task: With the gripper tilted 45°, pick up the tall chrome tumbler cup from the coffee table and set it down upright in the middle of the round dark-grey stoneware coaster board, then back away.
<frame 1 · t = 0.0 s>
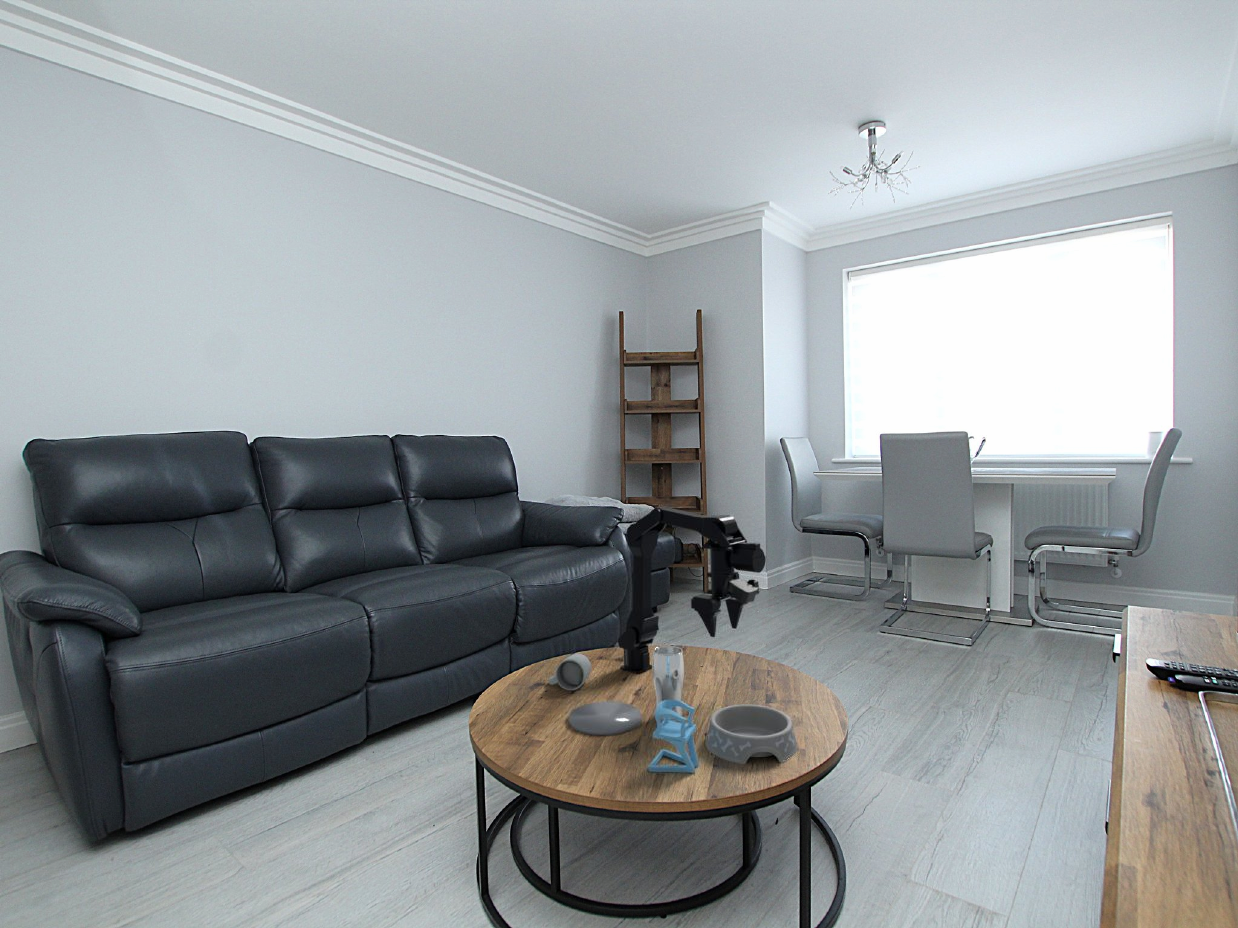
hand: (723, 632, 165), 15 cm above the table, tool pointing down, fingers open, 9 cm apart
chair: (675, 766, 129), on the table
dog bowl: (751, 746, 138), on the table
coaster board: (605, 719, 151), on the table
chrome tumbler cup: (669, 717, 152), on the table
ceramic mug: (569, 685, 174), on the table
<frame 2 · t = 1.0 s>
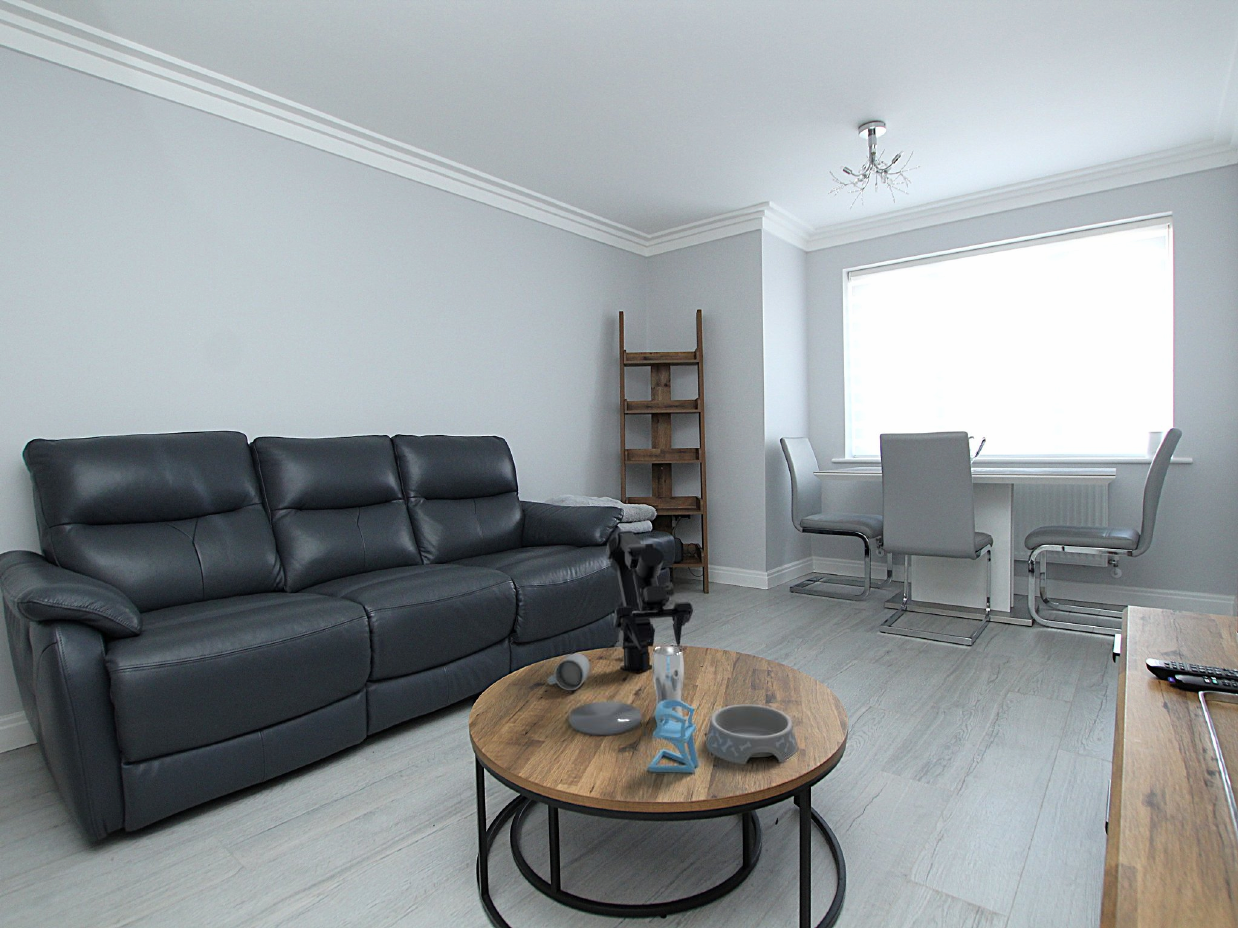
hand: (659, 646, 159), 13 cm above the table, tool tilted 45°, fingers open, 9 cm apart
nothing on the table moved.
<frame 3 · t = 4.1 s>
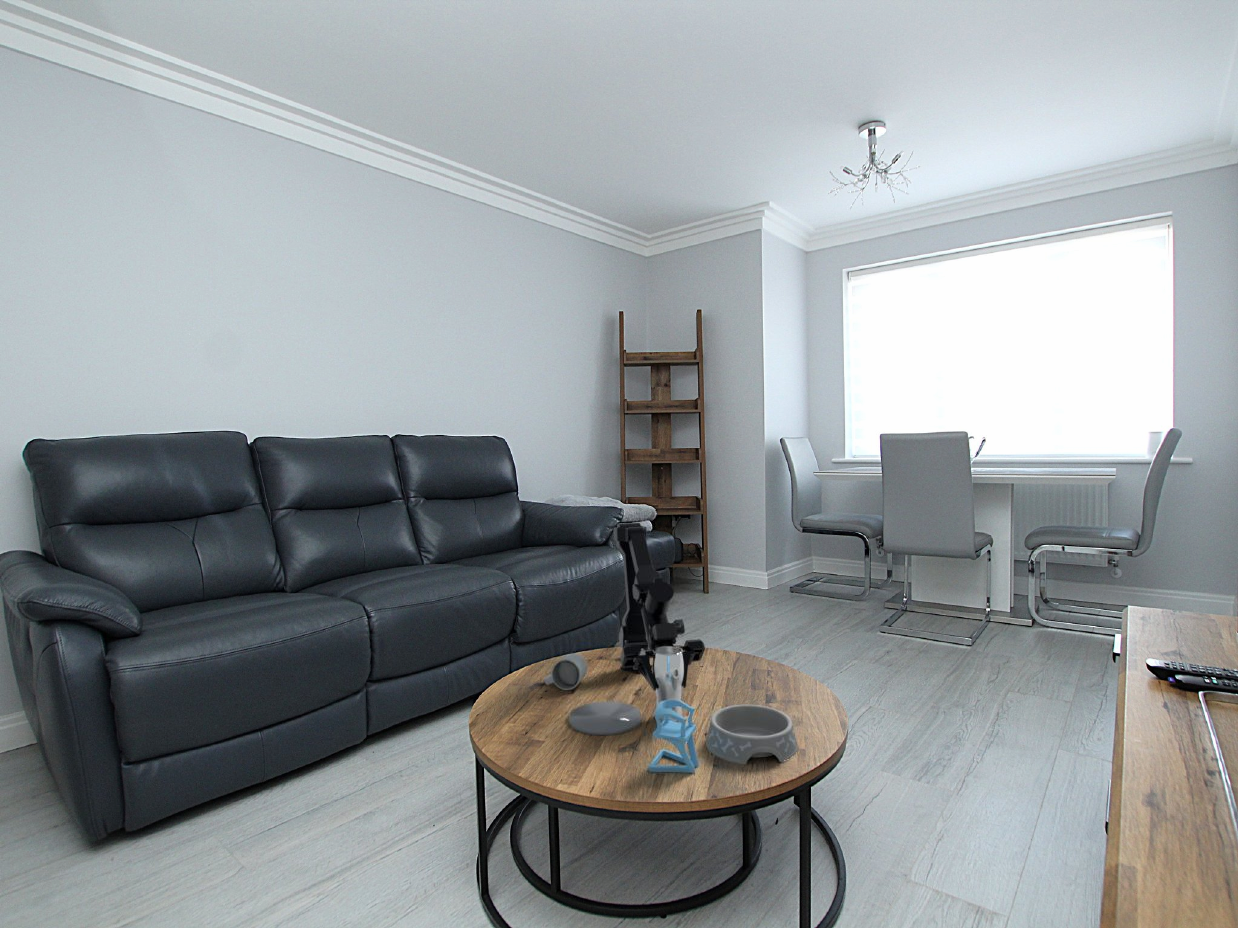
hand: (670, 688, 150), 7 cm above the table, tool tilted 45°, fingers closed on chrome tumbler cup, 6 cm apart
chrome tumbler cup: (669, 717, 152), on the table, touching gripper
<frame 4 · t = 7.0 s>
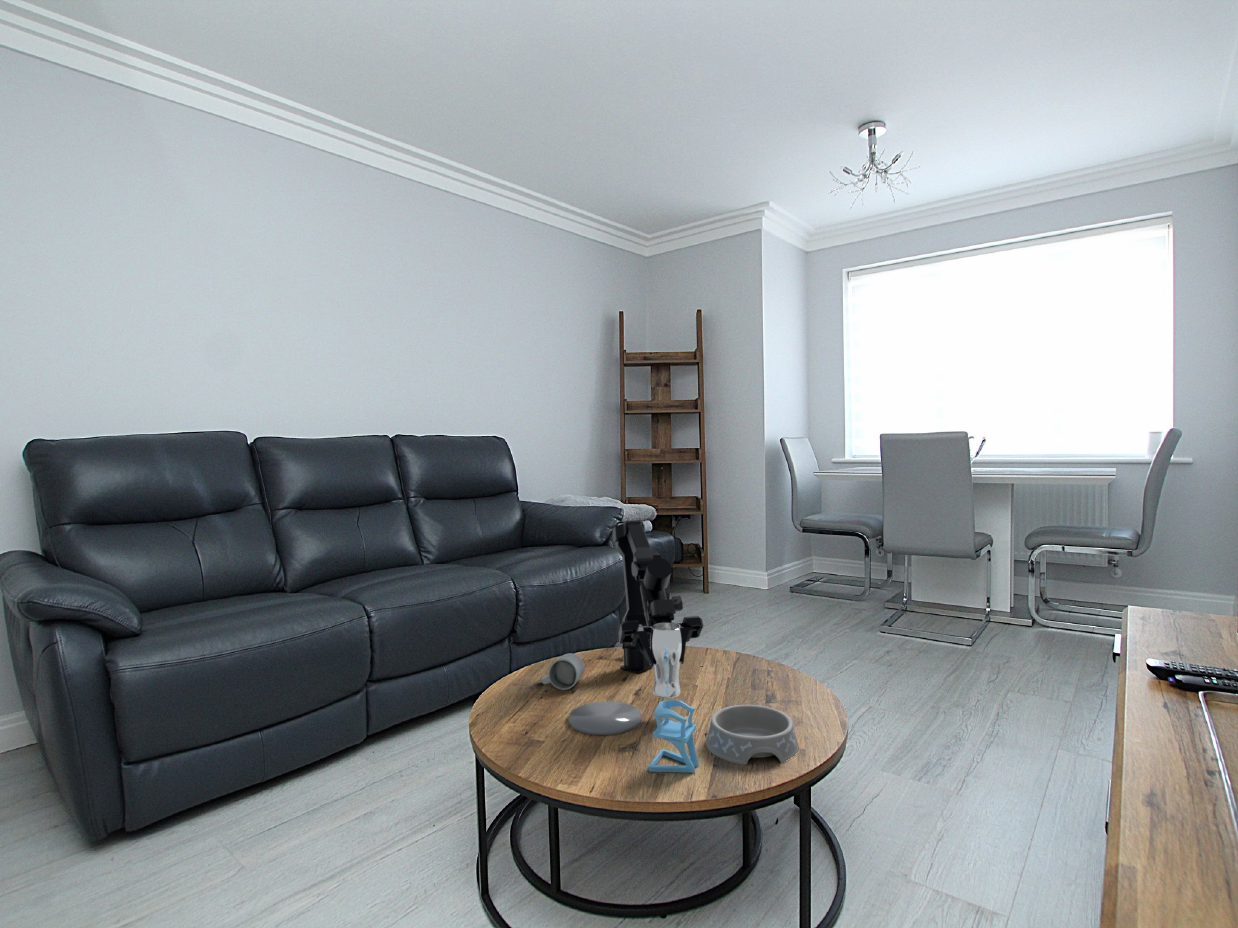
hand: (667, 664, 150), 12 cm above the table, tool tilted 45°, fingers closed on chrome tumbler cup, 6 cm apart
chrome tumbler cup: (666, 693, 152), point 5 cm above the table, touching gripper
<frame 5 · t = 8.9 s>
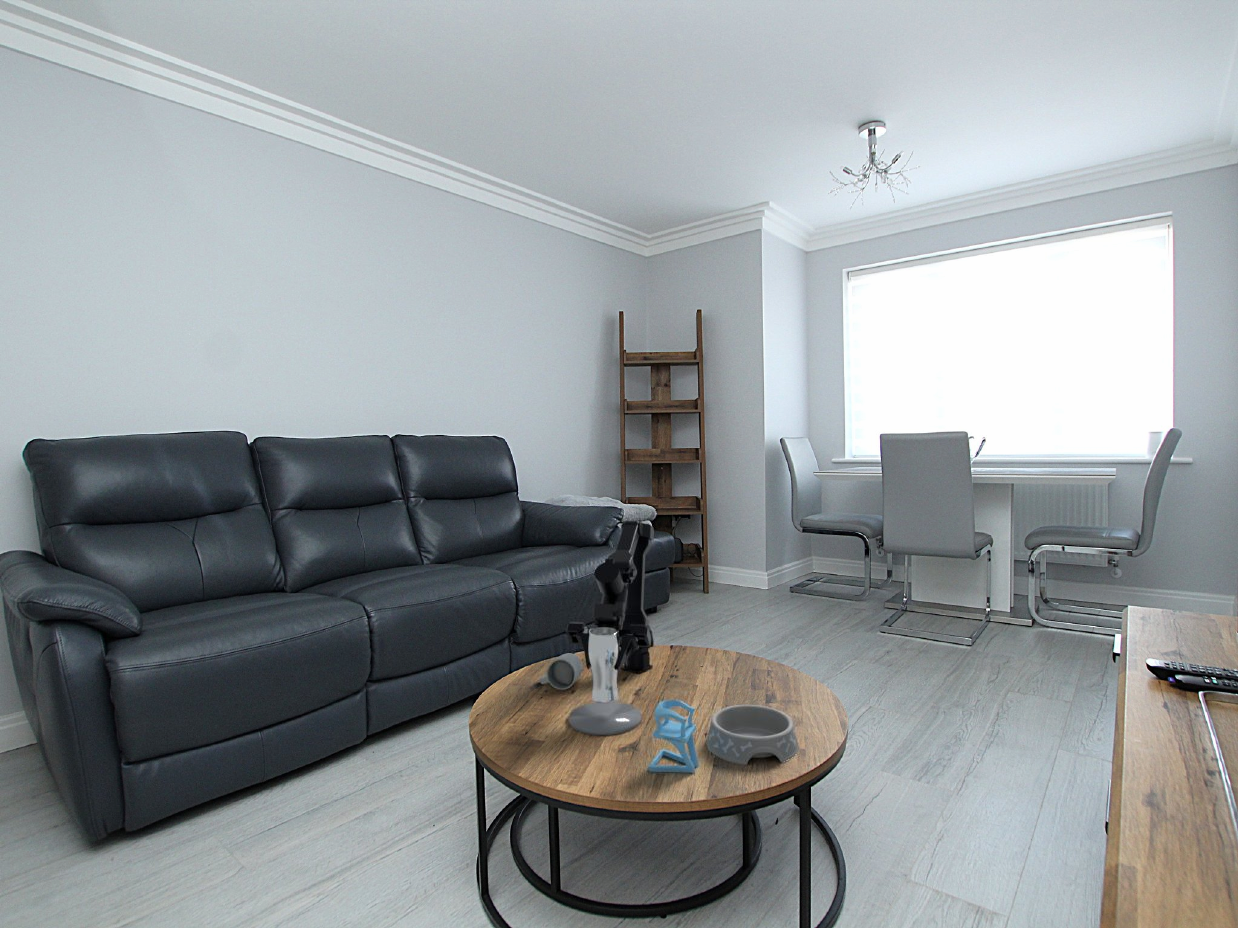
hand: (602, 669, 150), 12 cm above the table, tool tilted 45°, fingers closed on chrome tumbler cup, 6 cm apart
chrome tumbler cup: (605, 698, 151), point 5 cm above the table, touching gripper
when the fingers open (9 cm above the table, at t = 10.2 s): chrome tumbler cup stays where it is, resting on coaster board.
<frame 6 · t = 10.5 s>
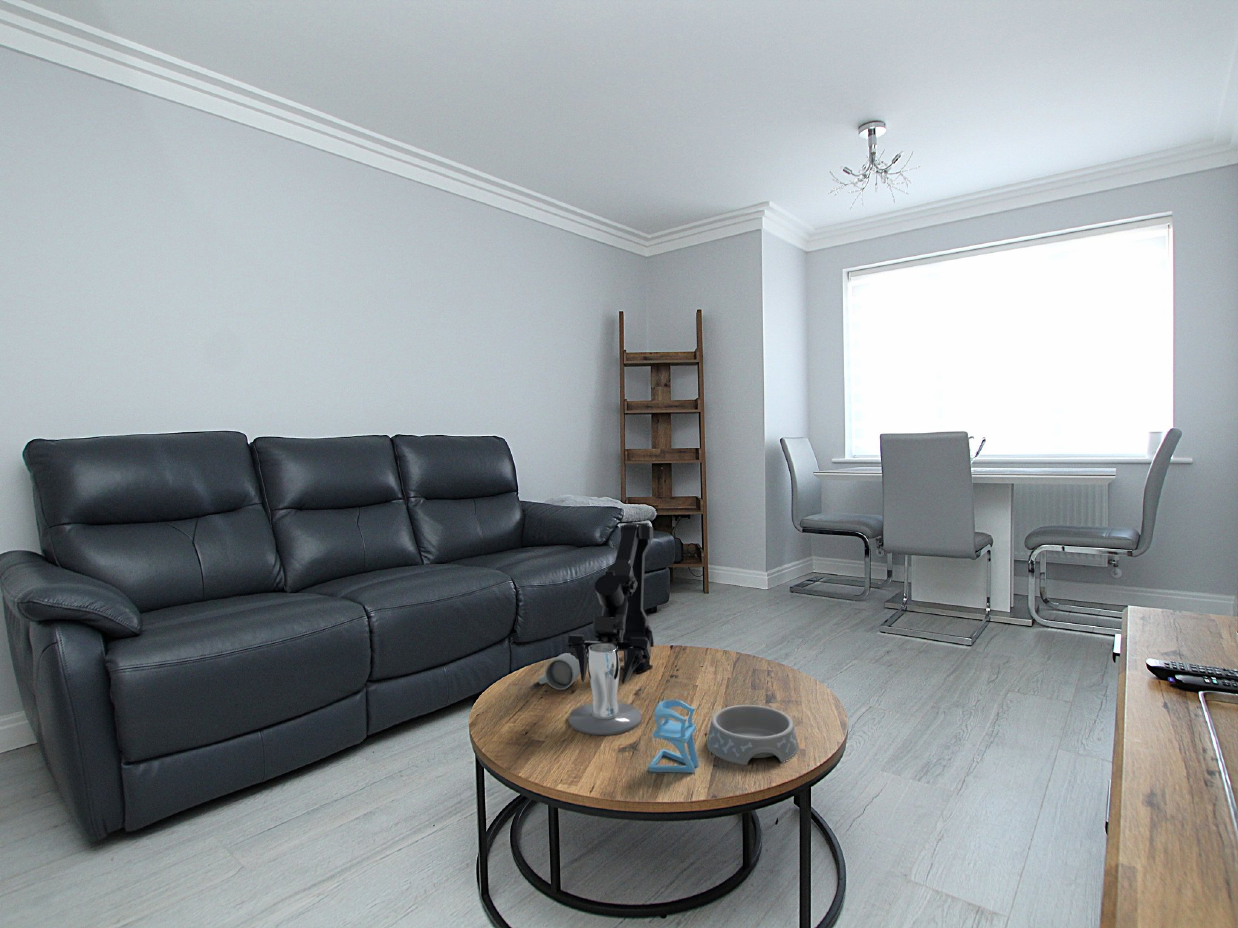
hand: (602, 682, 150), 9 cm above the table, tool tilted 45°, fingers open, 9 cm apart
chrome tumbler cup: (605, 714, 152), point 1 cm above the table, touching coaster board, gripper
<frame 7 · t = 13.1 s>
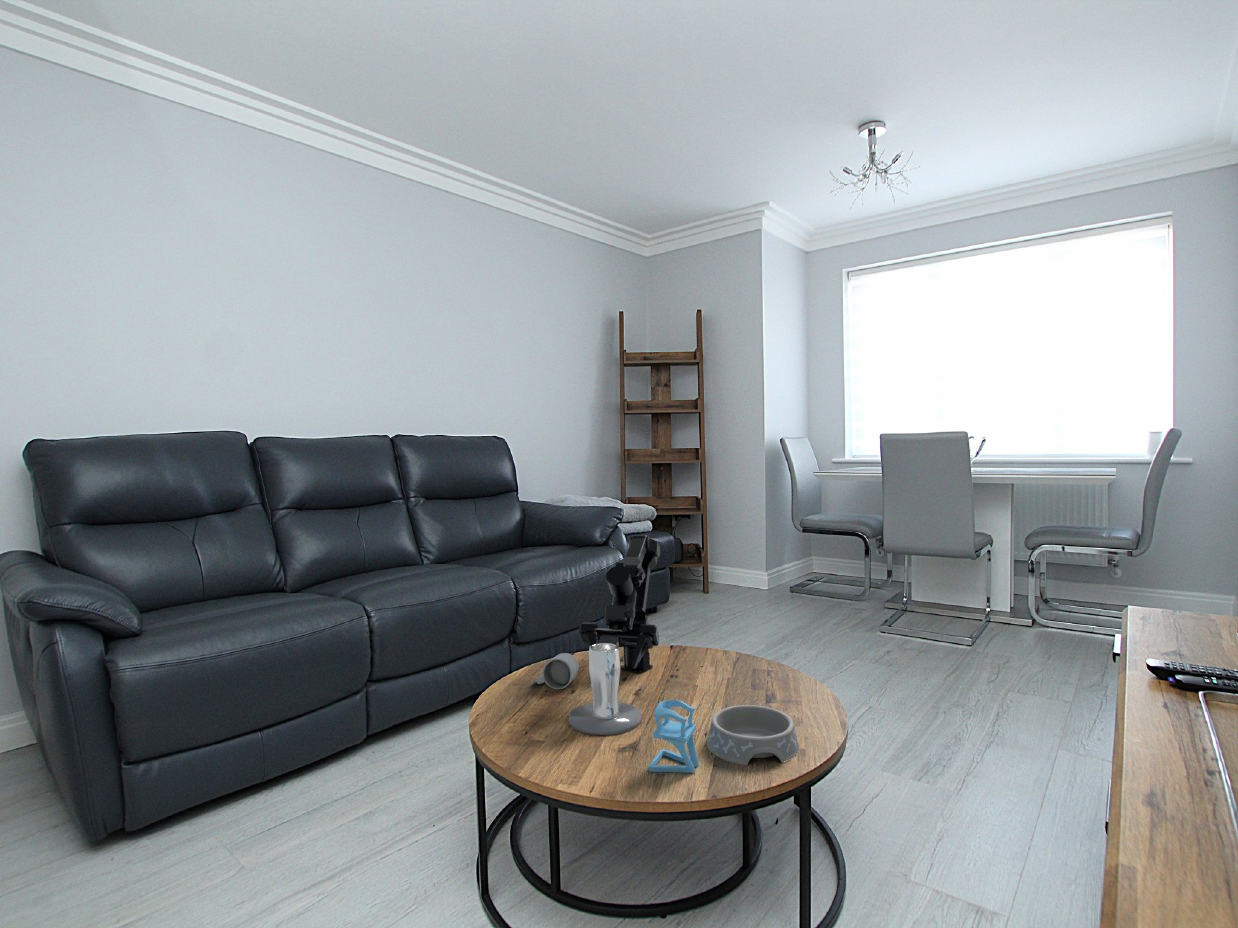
hand: (614, 666, 159), 9 cm above the table, tool tilted 45°, fingers open, 9 cm apart
chrome tumbler cup: (605, 715, 152), point 1 cm above the table, touching coaster board
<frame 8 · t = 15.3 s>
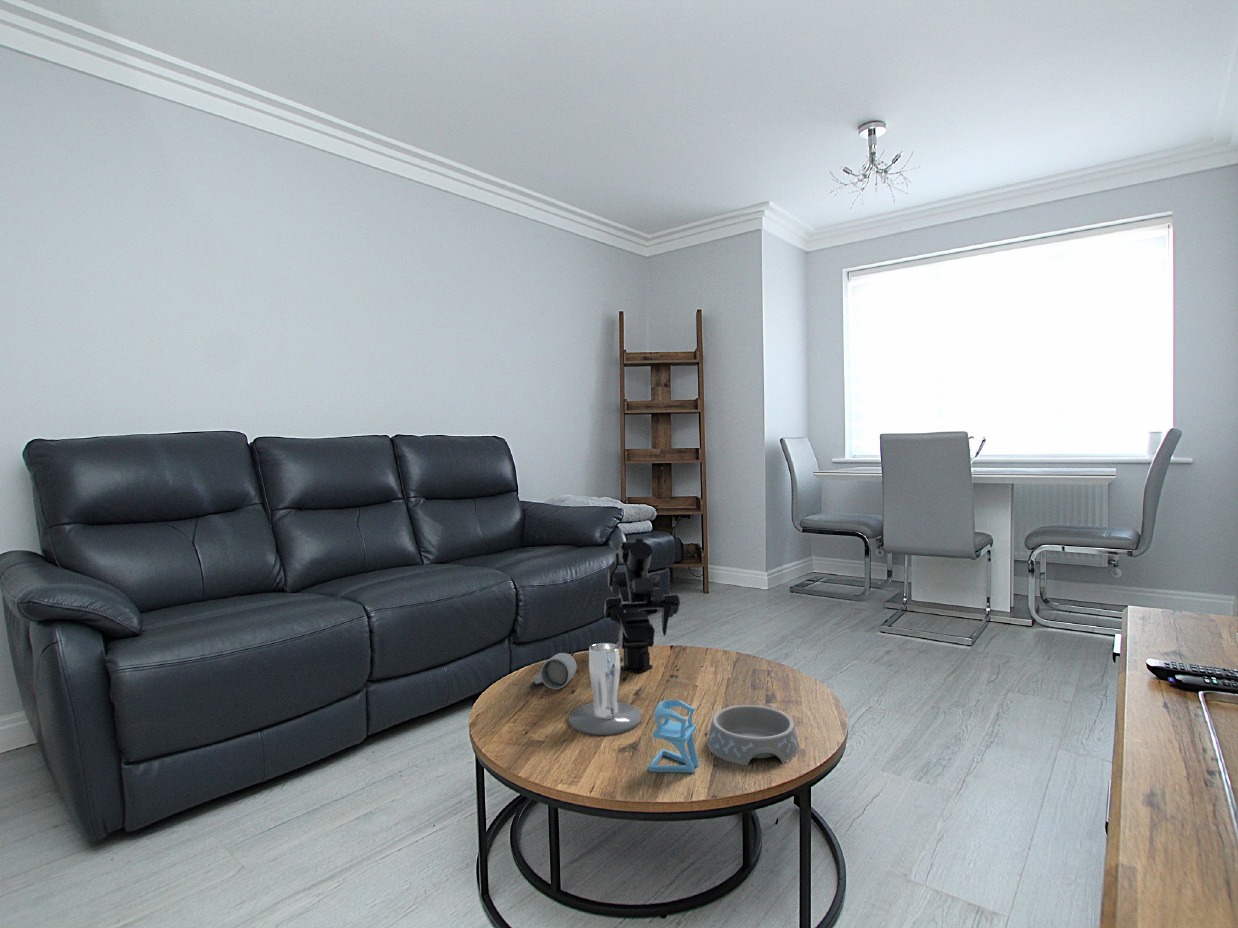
hand: (646, 636, 168), 14 cm above the table, tool tilted 45°, fingers open, 9 cm apart
at the end: chrome tumbler cup 0.4 cm off-centre on the coaster board, point 0.8 cm above the coaster board's base; chrome tumbler cup tilted 0°; the gripper is holding nothing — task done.
